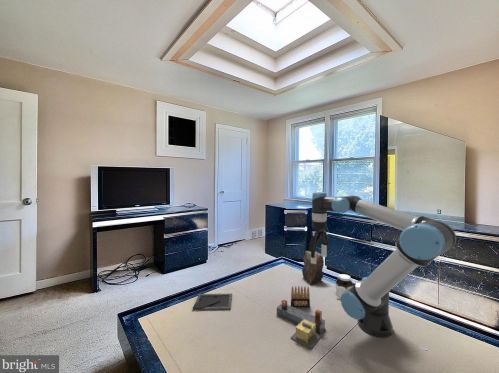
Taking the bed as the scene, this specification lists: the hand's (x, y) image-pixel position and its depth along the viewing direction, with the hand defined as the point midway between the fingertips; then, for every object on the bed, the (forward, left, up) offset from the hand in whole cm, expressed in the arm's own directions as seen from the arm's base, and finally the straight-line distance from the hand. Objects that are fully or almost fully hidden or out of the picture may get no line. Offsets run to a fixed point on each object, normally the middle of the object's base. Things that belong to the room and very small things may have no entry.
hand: (319, 259), depth 122 cm
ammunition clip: (+10, +2, -29) cm, 31 cm away
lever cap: (-4, +23, -28) cm, 37 cm away
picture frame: (+51, +31, -29) cm, 67 cm away
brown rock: (+20, -33, -29) cm, 48 cm away
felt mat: (-4, +23, -29) cm, 37 cm away
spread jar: (-5, -26, -29) cm, 39 cm away
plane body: (+4, +14, -29) cm, 32 cm away
